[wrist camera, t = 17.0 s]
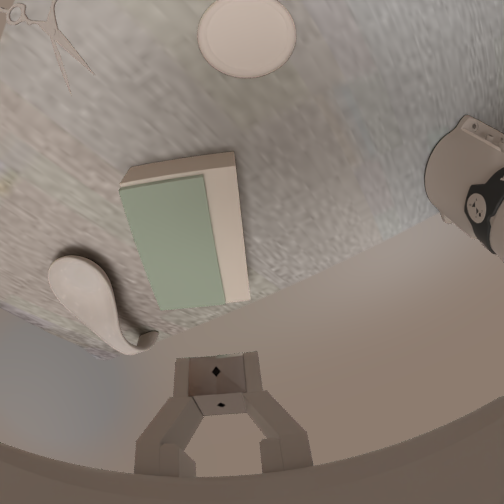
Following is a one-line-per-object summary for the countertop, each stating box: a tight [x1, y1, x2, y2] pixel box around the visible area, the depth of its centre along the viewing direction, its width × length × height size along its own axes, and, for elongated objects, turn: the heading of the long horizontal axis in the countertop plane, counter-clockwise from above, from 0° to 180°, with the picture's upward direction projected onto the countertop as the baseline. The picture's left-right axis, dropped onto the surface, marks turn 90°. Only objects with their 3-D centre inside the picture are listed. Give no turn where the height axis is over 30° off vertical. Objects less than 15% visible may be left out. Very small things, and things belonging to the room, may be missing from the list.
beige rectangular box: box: [120, 151, 250, 303], centre depth 39 cm, size 13×20×5 cm, turn 4°
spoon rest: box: [48, 255, 158, 355], centre depth 45 cm, size 24×12×7 cm, turn 27°
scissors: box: [0, 0, 95, 96], centre depth 22 cm, size 11×1×20 cm
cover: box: [119, 174, 226, 310], centre depth 37 cm, size 10×19×1 cm, turn 4°
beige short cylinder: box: [197, 0, 296, 78], centre depth 25 cm, size 10×10×4 cm
